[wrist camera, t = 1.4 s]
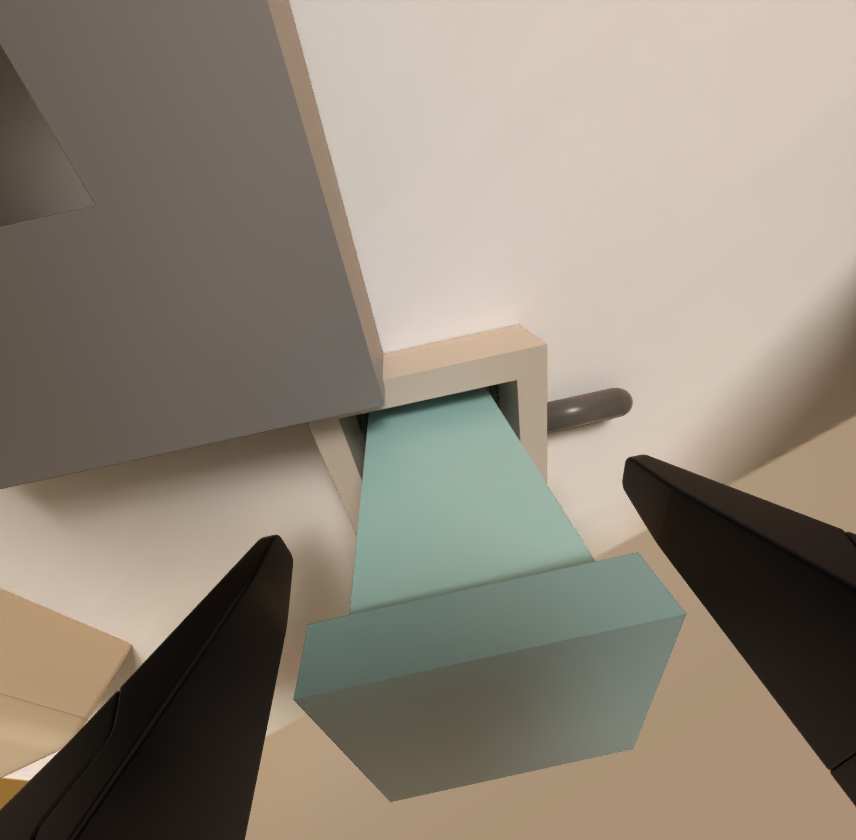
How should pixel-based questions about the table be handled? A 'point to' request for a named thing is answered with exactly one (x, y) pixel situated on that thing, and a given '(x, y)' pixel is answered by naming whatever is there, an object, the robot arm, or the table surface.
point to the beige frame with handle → (457, 372)
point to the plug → (478, 615)
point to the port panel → (175, 240)
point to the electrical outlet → (48, 678)
